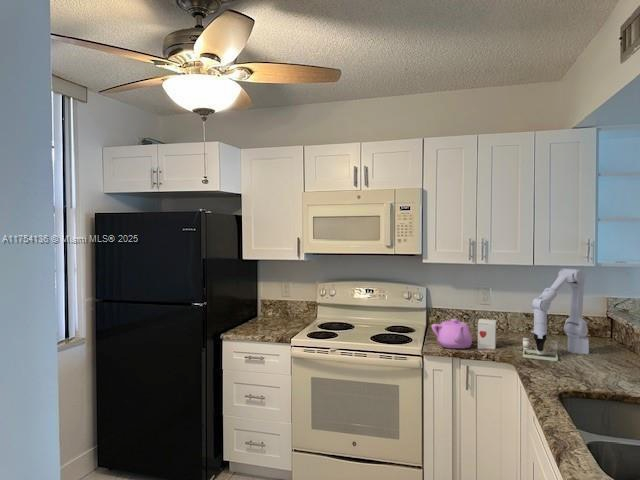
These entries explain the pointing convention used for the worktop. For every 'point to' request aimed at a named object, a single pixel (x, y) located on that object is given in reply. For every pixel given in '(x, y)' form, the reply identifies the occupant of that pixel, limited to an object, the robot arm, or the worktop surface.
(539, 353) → the marked fuse
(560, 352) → the fuse holder
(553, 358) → the tray
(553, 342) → the cylinder
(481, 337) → the supplement box
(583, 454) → the worktop surface
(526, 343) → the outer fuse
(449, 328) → the teapot
